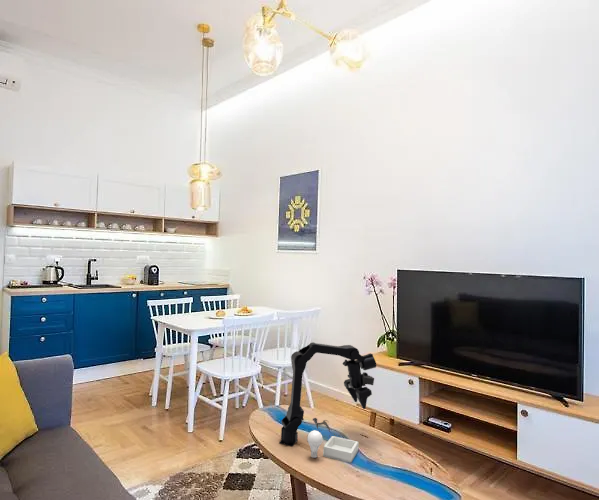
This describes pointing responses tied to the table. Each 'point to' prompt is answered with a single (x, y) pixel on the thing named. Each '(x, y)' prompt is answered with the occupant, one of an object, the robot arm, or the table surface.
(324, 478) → the table surface
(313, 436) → the lightbulb
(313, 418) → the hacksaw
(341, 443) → the tray
